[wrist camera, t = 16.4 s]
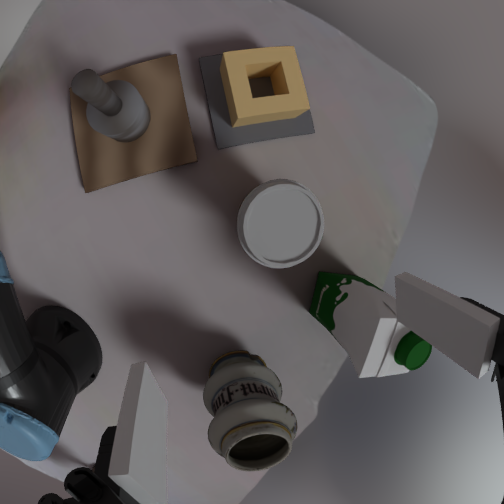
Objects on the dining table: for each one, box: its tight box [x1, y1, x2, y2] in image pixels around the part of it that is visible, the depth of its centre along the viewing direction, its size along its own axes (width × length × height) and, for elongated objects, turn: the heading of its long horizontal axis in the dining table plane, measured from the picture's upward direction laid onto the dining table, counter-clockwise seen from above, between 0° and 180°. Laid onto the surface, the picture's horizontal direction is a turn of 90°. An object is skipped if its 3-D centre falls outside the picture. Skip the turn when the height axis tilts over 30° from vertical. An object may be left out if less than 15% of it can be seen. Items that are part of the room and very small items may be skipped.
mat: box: [199, 54, 315, 149], centre depth 37 cm, size 14×14×1 cm
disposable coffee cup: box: [237, 179, 324, 268], centre depth 36 cm, size 10×10×12 cm
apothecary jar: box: [203, 351, 297, 471], centre depth 38 cm, size 12×12×18 cm
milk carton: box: [309, 272, 432, 378], centre depth 37 cm, size 9×9×20 cm
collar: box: [220, 46, 310, 128], centre depth 34 cm, size 9×9×6 cm
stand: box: [69, 54, 197, 193], centre depth 27 cm, size 16×16×18 cm
